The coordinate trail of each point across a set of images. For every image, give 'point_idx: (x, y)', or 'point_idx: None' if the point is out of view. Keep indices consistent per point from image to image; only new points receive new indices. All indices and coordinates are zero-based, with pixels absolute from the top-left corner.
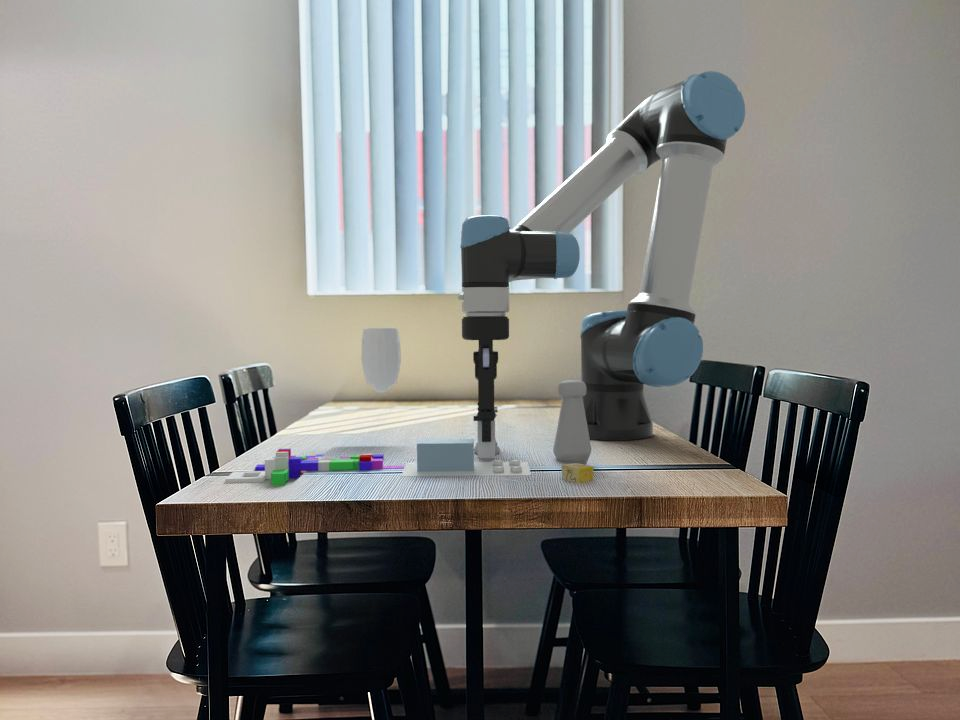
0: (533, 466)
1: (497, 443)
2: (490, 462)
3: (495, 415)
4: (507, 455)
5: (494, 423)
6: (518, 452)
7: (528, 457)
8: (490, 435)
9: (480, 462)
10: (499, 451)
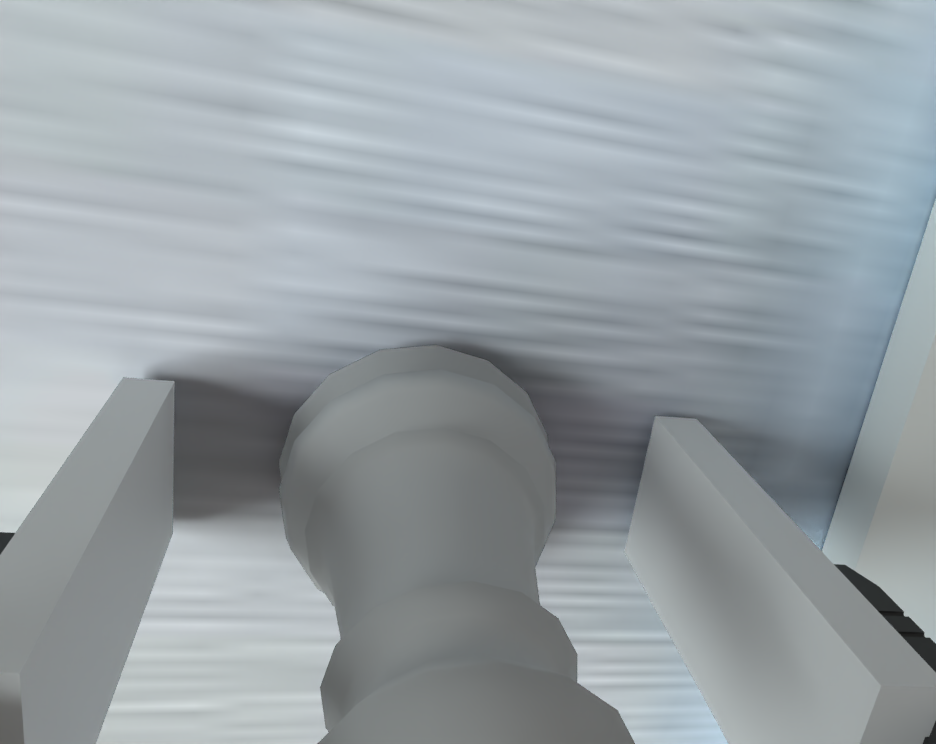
0: (883, 76)
1: (447, 431)
2: (912, 491)
3: (571, 691)
4: (240, 245)
5: (916, 664)
6: (40, 85)
7: (392, 26)
8: (901, 617)
9: (880, 564)
10: (465, 379)
